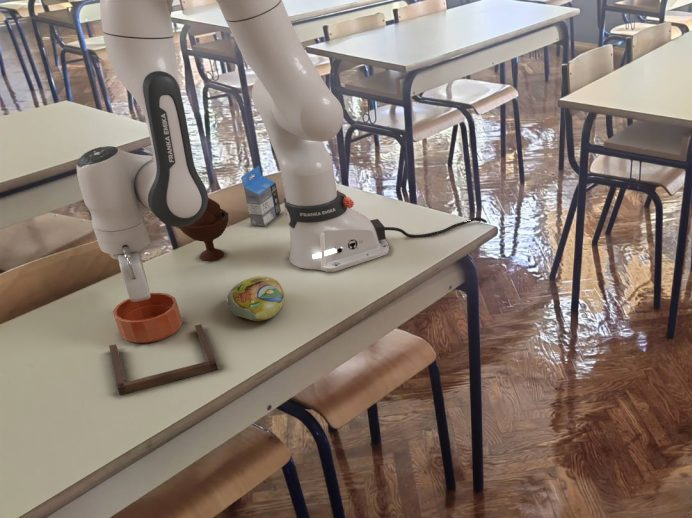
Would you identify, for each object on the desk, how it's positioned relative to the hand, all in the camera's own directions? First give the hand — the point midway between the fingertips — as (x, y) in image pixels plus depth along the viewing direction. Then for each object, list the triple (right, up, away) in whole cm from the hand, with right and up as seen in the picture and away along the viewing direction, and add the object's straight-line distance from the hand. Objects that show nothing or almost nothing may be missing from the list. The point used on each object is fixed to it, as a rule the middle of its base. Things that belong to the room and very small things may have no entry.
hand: (143, 301), depth 151 cm
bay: (+10, -12, -12) cm, 19 cm away
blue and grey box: (+12, +25, +40) cm, 48 cm away
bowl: (+3, -6, -3) cm, 7 cm away
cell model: (+23, -2, +3) cm, 23 cm away
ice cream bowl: (+5, +13, +23) cm, 27 cm away
